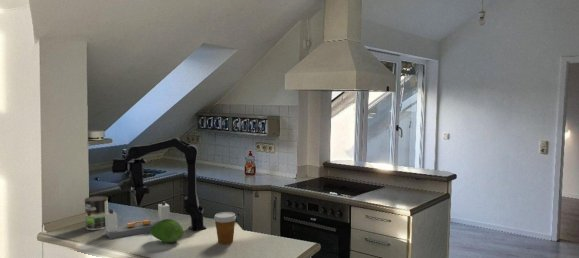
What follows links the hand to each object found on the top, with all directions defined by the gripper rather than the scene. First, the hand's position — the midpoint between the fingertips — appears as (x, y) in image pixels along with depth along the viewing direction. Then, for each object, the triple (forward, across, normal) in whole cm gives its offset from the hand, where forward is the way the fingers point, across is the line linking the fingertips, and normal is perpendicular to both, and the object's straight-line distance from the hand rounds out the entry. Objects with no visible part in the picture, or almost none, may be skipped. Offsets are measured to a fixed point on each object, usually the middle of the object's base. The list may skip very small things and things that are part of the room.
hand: (138, 205), depth 214 cm
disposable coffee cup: (+12, +37, +27) cm, 47 cm away
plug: (+10, 0, +12) cm, 15 cm away
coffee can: (+12, -18, -15) cm, 26 cm away
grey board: (+12, 0, 0) cm, 12 cm away
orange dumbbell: (+10, 0, 0) cm, 10 cm away
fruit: (+12, +22, +6) cm, 26 cm away
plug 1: (+10, 0, -12) cm, 15 cm away
